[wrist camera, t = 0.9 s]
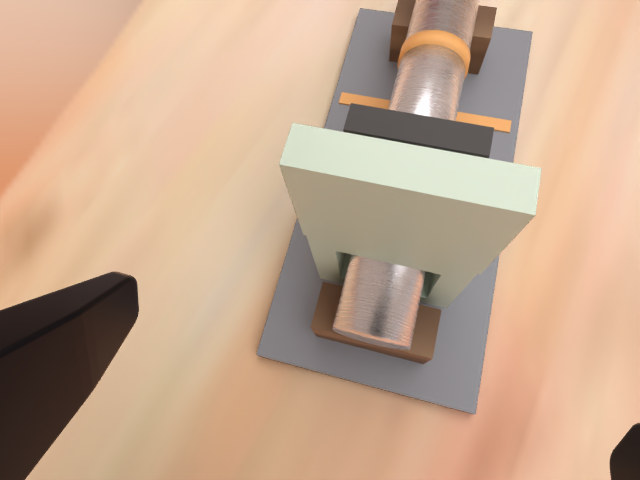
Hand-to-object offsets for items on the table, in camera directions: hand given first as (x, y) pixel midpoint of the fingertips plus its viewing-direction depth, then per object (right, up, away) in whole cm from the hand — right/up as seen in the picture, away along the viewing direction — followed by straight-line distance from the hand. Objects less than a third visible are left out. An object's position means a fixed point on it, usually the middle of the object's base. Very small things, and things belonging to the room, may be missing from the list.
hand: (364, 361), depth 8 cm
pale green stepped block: (+3, +2, +13) cm, 14 cm away
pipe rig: (+4, +5, +16) cm, 17 cm away
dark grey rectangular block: (+3, +5, +14) cm, 15 cm away
